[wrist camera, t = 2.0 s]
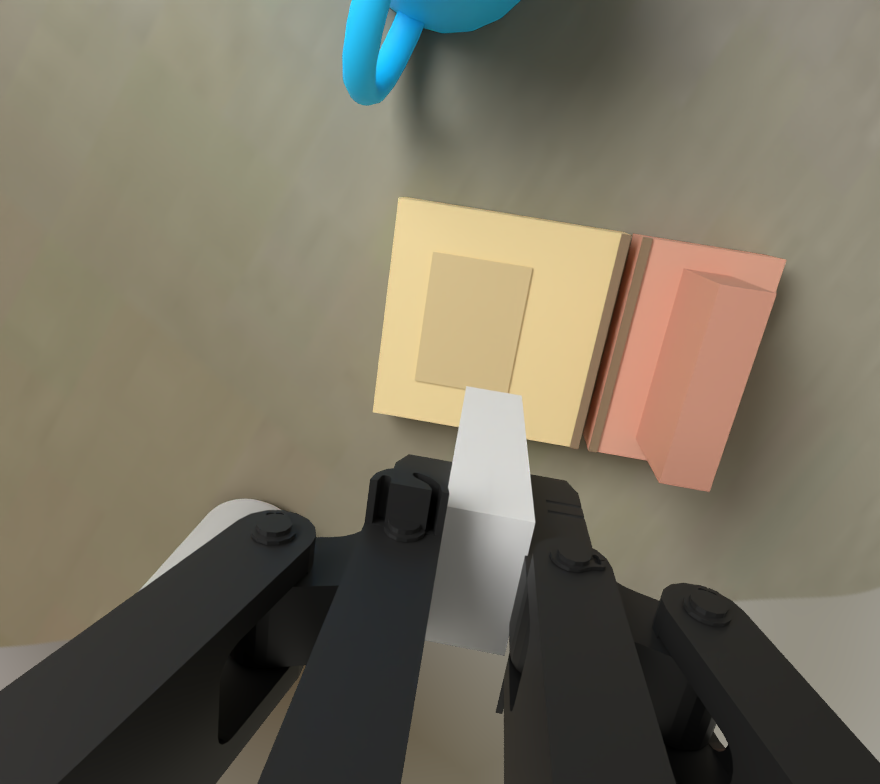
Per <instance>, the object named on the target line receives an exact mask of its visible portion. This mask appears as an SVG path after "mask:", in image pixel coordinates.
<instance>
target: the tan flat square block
mask: <svg viewBox="0 0 880 784" xmlns="http://www.w3.org/2000/svg"><path fill="white" fill-rule="evenodd" d="M631 236H632V235H630V234H627V233H624V232H620V231H614V230H608V229H602V228H596V227H589V226H583V225H577V224H571V223H564V222H558V221H552V220H546V219H540V218H533V217H527V216H521V215H515V214H508V213H502V212H496V211H490V210H484V209H477V208H471V207H465V206H459V205H453V204H446V203H440V202H434V201H428V200H421V199H415V198H409V197H400V198H399V199H398V208H397V216H396V224H395V233H394V241H393V249H392V257H391V266H390V274H389V282H388V291H387V299H386V307H385V316H384V324H383V332H382V340H381V349H380V357H379V365H378V374H377V382H376V390H375V399H374V407H373V412H376V413H381V414H387V415H393V416H398V417H404V418H410V419H415V420H421V421H427V422H432V423H438V424H444V425H449V426H455V427H459V424H460V418H461V413H462V407H463V402H464V396H465V391H466V386H469V387H475V388H480V389H486V390H492V391H498V392H503V393H509V394H515V395H521V396H522V403H523V412H524V422H525V431H526V439H528V440H534V441H540V442H545V443H551V444H556V445H562V446H568V447H570V448H574V449H578V448H579V444H580V440H581V436H582V432H583V428H584V424H585V420H586V416H587V412H588V408H589V404H590V400H591V396H592V392H593V388H594V384H595V380H596V376H597V372H598V368H599V364H600V360H601V356H602V352H603V348H604V344H605V340H606V336H607V332H608V328H609V324H610V320H611V316H612V312H613V308H614V304H615V300H616V296H617V292H618V288H619V284H620V280H621V276H622V272H623V268H624V264H625V260H626V256H627V252H628V248H629V244H630V240H631Z"/></svg>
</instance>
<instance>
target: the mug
mask: <svg viewBox="0 0 880 784" xmlns="http://www.w3.org/2000/svg"><path fill="white" fill-rule="evenodd" d="M520 1H521V0H352V2H351V6H350V10H349V15H348V19H347V25H346V33H345V40H344V48H343V55H342V57H343V81H344V84H345V86H346V88H347V90H348V92H349V94H350V96H351V98H352V99H353V100H354V101H355V102H357V103H358V104H361V105H372V104H376V103H380V102H381V101H383V100H384V98H385V97H386V96H387V95H388V94H389V93H390V91H391V90H392V89H393V88H394V86H395V84H396V82H397V81H398V79H399V77H400V76H401V74H402V72H403V70H404V69H405V67H406V65H407V63H408V61H409V59H410V57H411V54H412V52H413V50H414V48H415V46H416V44H417V42H418V40H419V37H420V35H421V33H422V30H423V28H425V29H429V30H432V31H435V32H439V33H455V32H469V31H474V30H476V29H478V28H481V27H483V26H485V25H487V24H490V23H492V22H494V21H496V20H499V19H501V18H502V17H503V16H504V15H505V14H507V13H508V12H509V11H510V10H511V9H512V8H513V7H514V6H515V5H516V4H517V3H519V2H520ZM389 8H391V9H392V10H393V11H395V12H396V13H397V14H396V16H395V19H394V21H393V24H392V26H391V28H390V30H389V32H388V34H387V37H386V39H385V41H384V43H383V45H382V47H381V49H380V44H381V38H382V33H383V29H384V26H385V22H386V18H387V14H388V11H389ZM379 49H380V51H379Z"/></svg>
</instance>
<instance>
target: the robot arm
mask: <svg viewBox="0 0 880 784" xmlns="http://www.w3.org/2000/svg"><path fill="white" fill-rule="evenodd" d="M508 638H509V642H510V653H509V658H508V662H507V666H506V670H505V675H504V679H503V683H502V688H501V692H500V697H499V700H498V705H497V709H496V713H500V714H502V712H503V709H504V784H880V763H879V761H878V760H877V759H876V758H875V757H874V756H873V755H872V754H871V752H870V751H869V750H868V749H867V748H866V747H865V746H864V745H863V744H862V743H861V742H860V740H859V739H858V738H857V737H856V736H855V735H854V733H853V732H852V731H851V730H850V729H849V728H848V727H847V726H846V725H845V723H844V722H843V721H842V720H841V719H840V718H839V717H838V716H837V715H836V713H835V712H834V711H833V710H832V709H831V708H830V707H829V706H828V705H827V703H826V702H825V701H824V700H823V699H822V698H821V697H820V696H819V694H818V693H817V692H816V691H815V690H814V689H813V688H812V687H811V686H810V684H809V683H808V682H807V681H806V680H805V679H804V678H803V677H802V676H801V674H800V673H799V672H798V671H797V670H796V669H795V668H794V667H793V665H792V664H791V663H790V662H789V661H788V660H787V659H786V658H785V657H784V655H783V654H782V653H781V652H780V651H779V650H778V649H777V648H776V647H775V645H774V644H773V643H772V642H771V641H770V640H769V639H768V638H767V637H766V635H765V634H764V633H763V632H762V631H761V630H760V629H759V628H758V626H757V625H756V624H755V623H754V622H753V621H752V620H751V619H750V617H749V616H748V615H747V614H746V613H745V612H744V611H743V610H742V609H741V608H739V607H738V606H737V605H736V604H735V603H734V602H733V601H731V600H730V599H728V598H726V597H724V596H723V595H721V594H719V593H718V592H717V591H715V590H712V589H710V588H709V589H707V587H704V586H700V585H693V584H687V583H679V584H671V585H669V586H668V587H666V588H665V589H663V592H662V595H661V598H660V601H658V600H656V599H653V598H650V597H648V596H645V595H643V594H640V593H637V592H635V591H633V590H631V589H628V588H626V587H624V586H622V585H621V584H619V583H617V582H616V579H615V576H614V573H613V569H612V567H611V565H610V564H609V562H608V560H607V559H606V558H605V557H604V556H603V555H601V554H600V553H599V552H598V551H597V550H595V549H593V548H592V545H591V541H590V537H589V534H588V530H587V526H586V522H585V519H584V514H583V511H582V509H581V503H580V499H579V495H578V493H577V492H576V491H575V490H574V489H573V488H572V487H571V486H570V485H569V484H568V483H567V482H566V481H564V480H559V479H553V478H547V477H542V476H536V475H531V474H530V468H529V459H528V450H527V440H526V431H525V422H524V412H523V403H522V396H521V395H515V394H509V393H503V392H498V391H492V390H486V389H480V388H475V387H469V386H466V391H465V396H464V402H463V407H462V413H461V418H460V424H459V429H458V435H457V440H456V446H455V451H454V457H453V462H449V461H443V460H438V459H432V458H427V457H421V456H415V455H410V454H409V455H407V456H406V457H404V458H402V459H401V460H399V461H398V462H396V464H395V467H394V468H392V469H386V470H383V471H380V472H378V473H376V474H375V475H374V476H373V477H372V478H371V479H370V485H369V493H368V501H367V509H366V517H365V523H364V526H363V528H362V531H360V532H358V533H355V534H352V535H347V536H342V537H316V532H315V527H314V525H313V524H312V523H311V522H310V521H309V520H308V519H307V518H305V517H303V516H301V515H299V514H297V513H292V512H287V511H284V510H265V511H261V512H256V513H251V514H249V515H247V516H245V517H243V518H241V519H239V520H237V521H236V522H235V523H233V524H232V525H230V526H229V527H228V528H226V529H225V530H223V531H222V532H221V533H219V534H218V535H216V536H215V537H214V538H212V539H211V540H210V541H208V542H207V543H205V544H204V545H203V546H201V547H200V548H198V549H197V550H196V551H194V552H193V553H191V554H190V555H189V556H187V557H186V558H184V559H183V560H182V561H180V562H179V563H178V564H176V565H175V566H173V567H172V568H171V569H169V570H168V571H166V572H165V573H164V574H162V575H161V576H159V577H158V578H157V579H155V580H154V581H152V582H151V583H150V584H148V585H147V586H146V587H144V588H143V589H141V590H140V591H139V592H137V593H136V594H134V595H133V596H132V597H130V598H129V599H127V600H126V601H125V602H123V603H122V604H120V605H119V606H118V607H116V608H115V609H114V610H112V611H111V612H109V613H108V614H107V615H105V616H104V617H102V618H101V619H100V620H98V621H97V622H95V623H94V624H93V625H91V626H90V627H89V628H87V629H86V630H84V631H83V632H82V633H80V634H79V635H77V636H76V637H75V638H73V639H72V640H70V641H69V642H68V643H66V644H65V645H64V646H62V647H61V648H59V649H58V650H57V651H55V652H54V653H52V654H51V655H50V656H48V657H47V658H46V659H44V660H43V661H41V662H40V663H39V664H37V665H36V666H34V667H33V668H31V669H30V670H29V671H27V672H26V673H25V674H23V675H22V676H20V677H19V678H18V679H16V680H15V681H13V682H12V683H11V684H10V685H8V686H6V687H5V688H4V689H2V690H1V691H0V784H216V783H217V781H218V780H219V779H220V777H221V776H222V775H223V774H224V772H225V771H226V770H227V769H228V767H229V766H230V764H231V763H232V762H233V761H234V760H235V758H236V757H237V756H238V754H239V753H240V752H241V751H242V749H243V748H244V747H245V745H246V744H247V743H248V741H249V740H250V739H251V738H252V736H253V735H254V734H255V733H256V731H257V730H258V729H259V727H260V726H261V724H263V722H264V721H265V720H266V718H267V717H268V716H269V715H270V713H271V712H272V711H273V709H274V708H275V707H276V706H277V704H278V703H279V702H280V700H281V699H282V698H283V697H284V695H285V694H286V693H287V691H288V690H289V689H290V688H291V686H292V685H293V684H294V682H295V681H296V680H297V679H298V677H299V675H300V673H301V671H302V668H303V665H306V667H305V669H304V672H303V674H302V677H301V679H300V681H299V684H298V686H297V689H296V691H295V694H294V696H293V698H292V701H291V703H290V706H289V708H288V711H287V713H286V716H285V718H284V721H283V723H282V725H281V728H280V730H279V733H278V735H277V737H276V740H275V742H274V745H273V747H272V750H271V752H270V754H269V757H268V760H267V762H266V764H265V767H264V769H263V771H262V774H261V777H260V779H259V781H258V784H401V778H402V773H403V767H404V761H405V755H406V749H407V743H408V737H409V731H410V724H411V719H412V712H413V707H414V701H415V694H416V689H417V683H418V677H419V671H420V665H421V659H422V653H423V647H424V641H431V642H436V643H441V644H446V645H452V646H456V647H462V648H466V649H472V650H477V651H482V652H487V653H493V654H497V655H503V656H504V655H505V651H506V647H507V643H508ZM716 724H717V725H718V727H719V728H720V730H721V731H722V733H723V734H724V736H725V738H726V740H727V742H728V746H727V747H726V748H725V747H724V746H723V745H722V744H721V742H720V741H719V740H718V738H717V736H716V735H715V733H714V732H713V731H714V728H715V726H716Z"/></svg>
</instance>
